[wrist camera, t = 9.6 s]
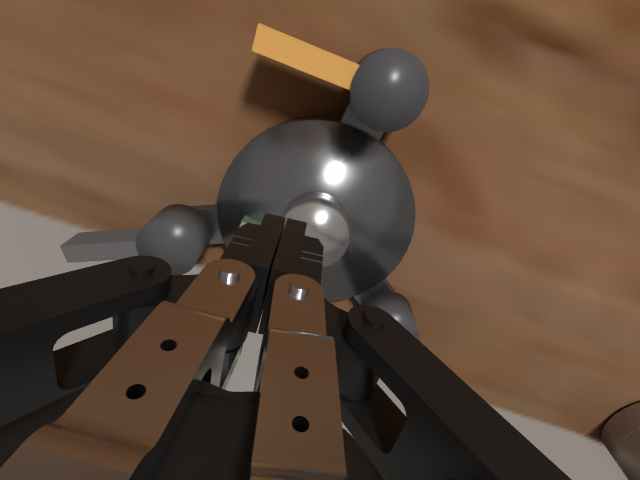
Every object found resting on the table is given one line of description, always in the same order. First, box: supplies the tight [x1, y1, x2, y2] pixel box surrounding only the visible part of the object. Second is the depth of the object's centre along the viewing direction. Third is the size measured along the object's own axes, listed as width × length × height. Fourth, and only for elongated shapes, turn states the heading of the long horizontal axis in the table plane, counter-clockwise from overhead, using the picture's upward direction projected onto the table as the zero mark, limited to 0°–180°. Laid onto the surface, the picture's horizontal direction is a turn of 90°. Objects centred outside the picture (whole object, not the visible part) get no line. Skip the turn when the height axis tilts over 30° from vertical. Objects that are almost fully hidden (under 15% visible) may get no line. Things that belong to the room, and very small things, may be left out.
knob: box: [60, 204, 211, 275], centre depth 28 cm, size 10×4×3 cm, turn 95°
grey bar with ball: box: [362, 291, 419, 339], centre depth 31 cm, size 10×4×3 cm, turn 35°
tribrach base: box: [190, 100, 415, 305], centre depth 26 cm, size 21×19×4 cm
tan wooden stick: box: [252, 23, 429, 132], centre depth 22 cm, size 10×4×3 cm, turn 70°
